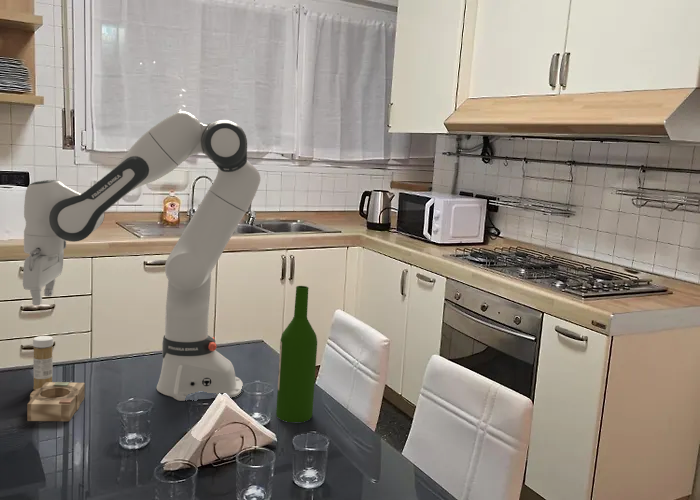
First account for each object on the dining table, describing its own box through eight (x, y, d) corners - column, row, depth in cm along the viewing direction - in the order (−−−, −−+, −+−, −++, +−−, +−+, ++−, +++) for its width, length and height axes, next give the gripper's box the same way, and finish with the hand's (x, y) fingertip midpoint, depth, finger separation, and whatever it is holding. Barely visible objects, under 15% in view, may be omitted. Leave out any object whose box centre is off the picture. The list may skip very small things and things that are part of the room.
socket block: (85, 398, 162) (85, 381, 162) (70, 421, 149) (70, 403, 148) (40, 397, 161) (41, 380, 160) (21, 420, 147) (21, 402, 146)
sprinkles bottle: (49, 384, 169) (50, 334, 167) (54, 390, 166) (55, 339, 164) (30, 387, 166) (30, 336, 165) (35, 393, 163) (35, 341, 161)
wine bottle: (277, 407, 165) (285, 282, 160) (313, 410, 165) (321, 284, 161) (274, 422, 156) (281, 289, 152) (311, 424, 156) (320, 292, 152)
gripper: (44, 252, 151) (43, 310, 153) (68, 240, 171) (67, 291, 173) (15, 251, 150) (15, 309, 152) (42, 239, 170) (42, 290, 172)
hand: (43, 300), depth 163 cm, fingers open, 8 cm apart
